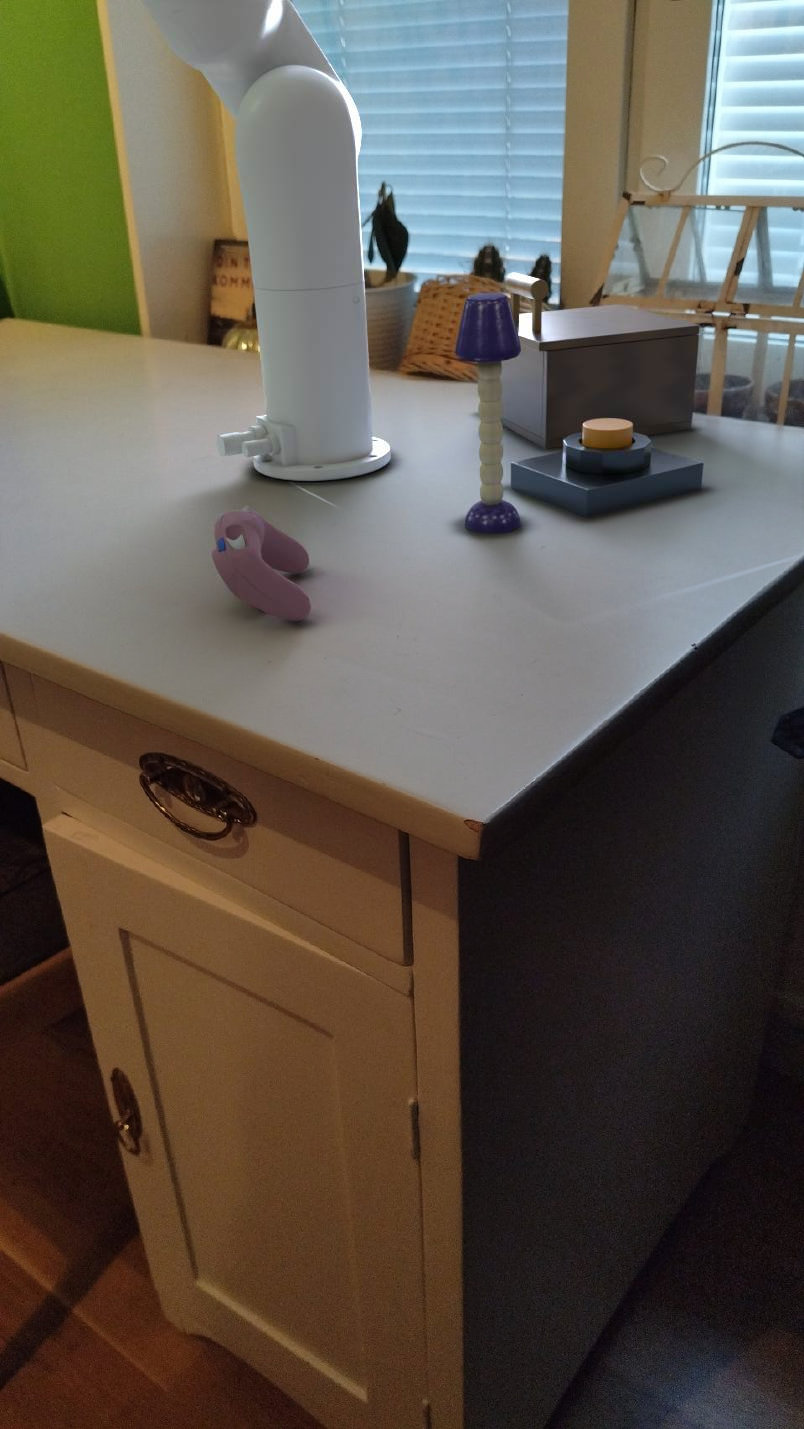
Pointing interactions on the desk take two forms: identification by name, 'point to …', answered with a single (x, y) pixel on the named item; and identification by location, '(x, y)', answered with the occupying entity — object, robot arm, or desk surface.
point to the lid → (584, 321)
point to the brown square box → (600, 388)
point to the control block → (605, 476)
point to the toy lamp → (489, 401)
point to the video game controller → (260, 564)
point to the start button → (607, 433)
